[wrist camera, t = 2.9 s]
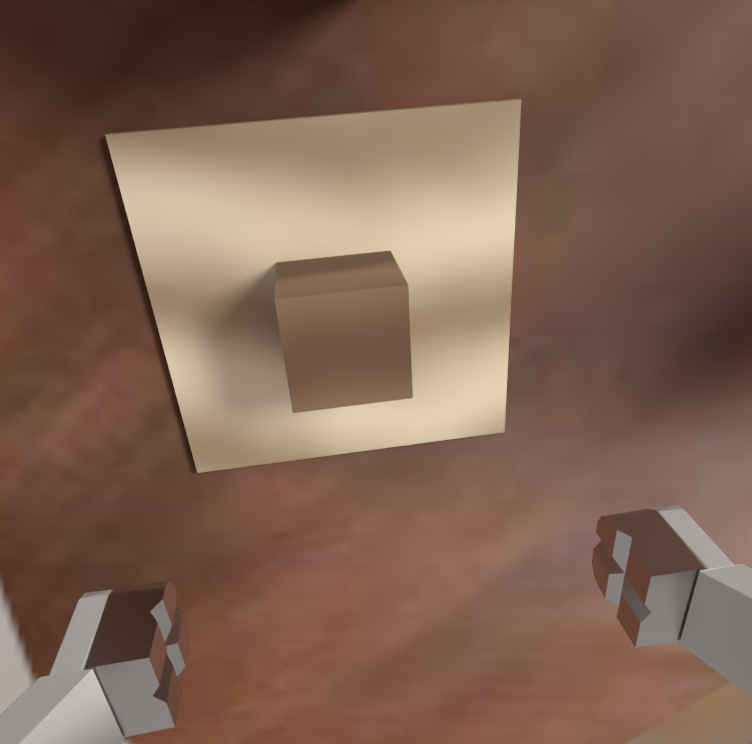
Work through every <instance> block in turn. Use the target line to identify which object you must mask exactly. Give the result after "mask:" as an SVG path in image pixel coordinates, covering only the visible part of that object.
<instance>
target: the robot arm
mask: <svg viewBox="0 0 752 744" xmlns="http://www.w3.org/2000/svg"><path fill="white" fill-rule="evenodd" d="M596 533H597V534H598V536H599V537H600V539H601V541H600V542H599V543H598V544H597V546H596V547H595V548H594V549H593V557H592V565H593V571H594V576H595V579H596V581H597V584H598V586H599V588H600V590H601V592H602V593H603V595H604V597H605V598H606V599H608V600H609V601H611V602H613V603H614V604H616V605H617V606H619V608H618V614H617V618H618V620H619V622H620V623H621V625H622V626H623V628H624V630H625V631H626V633H627V635H628V636H629V638H630V639H631V641H632V643H633V644H634V646H635V648H636V647H643V646H650V645H657V644H664V643H671V642H678V641H680V643H679V644H681V645H682V646H683V647H685V648H686V649H687V650H689V651H690V652H691V653H693V654H694V655H696V656H697V657H698V658H700V659H701V660H702V661H704V662H705V663H706V664H708V665H709V666H710V667H712V668H713V669H715V670H716V671H717V672H719V673H720V674H721V675H723V676H724V677H725V678H727V679H728V680H729V681H731V682H732V683H734V684H735V685H736V686H738V687H739V688H740V689H742V690H743V691H744V692H746V693H747V694H748V695H750V696H751V697H752V568H750V567H747V566H745V565H743V564H737V565H734V564H733V563H732V562H731V561H730V560H729V559H728V557H727V556H726V555H725V554H724V553H723V552H722V551H721V550H720V549H719V548H718V547H717V545H716V544H715V543H714V542H713V541H712V540H711V539H710V538H709V537H708V536H707V535H706V533H705V532H704V531H703V530H702V529H701V528H700V527H699V526H698V525H697V524H696V523H695V521H694V520H693V519H692V518H691V517H690V516H689V515H688V514H687V513H686V512H685V511H684V509H683V508H681V507H679V506H677V505H669V506H663V507H657V508H651V509H644V510H638V511H632V512H626V513H620V514H613V515H607V516H601V518H600V519H599V521H598V523H597V529H596ZM177 597H178V595H177V592H176V590H175V587H174V584H173V583H172V582H162V583H154V584H146V585H138V586H130V587H122V588H114V589H111V590H103V591H95V592H87V593H84V595H83V596H82V597H81V598H80V599H79V600H78V603H77V605H76V608H75V610H74V613H73V615H72V618H71V621H70V623H69V626H68V628H67V631H66V633H65V636H64V638H63V641H62V643H61V646H60V649H59V651H58V654H57V656H56V659H55V661H54V664H53V666H52V669H51V672H50V674H49V676H44V677H40V678H39V679H37V680H36V681H35V682H34V683H33V684H32V685H31V686H30V687H29V688H28V689H27V690H26V691H25V692H24V693H23V694H22V695H21V696H20V697H19V698H18V699H17V700H16V701H15V702H14V703H12V704H11V705H10V706H9V707H8V708H7V709H6V710H5V711H4V712H3V713H2V714H1V715H0V744H122V743H123V742H124V737H128V736H133V735H138V734H143V733H148V732H153V731H158V730H163V729H168V728H172V727H175V725H176V719H177V714H178V708H179V702H180V696H181V687H180V684H179V681H178V678H177V676H178V675H179V674H180V673H181V671H182V670H183V669H184V668H185V666H186V659H187V653H188V632H187V626H186V621H185V617H184V614H183V612H181V611H180V610H178V609H177V608H175V607H176V602H177ZM751 744H752V743H751Z"/></svg>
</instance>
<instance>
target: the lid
mask: <svg viewBox="0 0 752 744" xmlns="http://www.w3.org/2000/svg"><path fill="white" fill-rule="evenodd" d="M520 115H521V100H520V99H509V100H497V101H485V102H473V103H462V104H450V105H438V106H426V107H414V108H403V109H391V110H379V111H367V112H355V113H344V114H332V115H320V116H308V117H296V118H285V119H273V120H261V121H249V122H237V123H226V124H214V125H202V126H190V127H178V128H167V129H155V130H143V131H131V132H119V133H108V134H106V135H105V136H106V140H107V144H108V147H109V151H110V155H111V158H112V162H113V166H114V169H115V173H116V177H117V180H118V184H119V188H120V191H121V195H122V199H123V202H124V206H125V210H126V213H127V217H128V221H129V224H130V228H131V232H132V235H133V239H134V243H135V246H136V250H137V254H138V257H139V261H140V265H141V268H142V272H143V276H144V279H145V283H146V287H147V290H148V294H149V298H150V301H151V305H152V309H153V312H154V316H155V320H156V323H157V327H158V331H159V334H160V338H161V342H162V345H163V349H164V353H165V356H166V360H167V364H168V367H169V371H170V375H171V378H172V382H173V386H174V389H175V393H176V397H177V400H178V404H179V408H180V411H181V415H182V419H183V422H184V426H185V430H186V433H187V437H188V441H189V444H190V448H191V452H192V455H193V459H194V463H195V466H196V470H197V473H201V472H209V471H216V470H224V469H231V468H239V467H246V466H254V465H261V464H269V463H276V462H284V461H291V460H299V459H306V458H314V457H321V456H329V455H336V454H344V453H351V452H359V451H366V450H374V449H381V448H389V447H396V446H404V445H411V444H419V443H426V442H434V441H441V440H449V439H456V438H464V437H471V436H479V435H486V434H494V433H501V432H504V429H505V409H506V390H507V370H508V351H509V331H510V311H511V292H512V272H513V252H514V233H515V213H516V194H517V174H518V154H519V135H520Z"/></svg>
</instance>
